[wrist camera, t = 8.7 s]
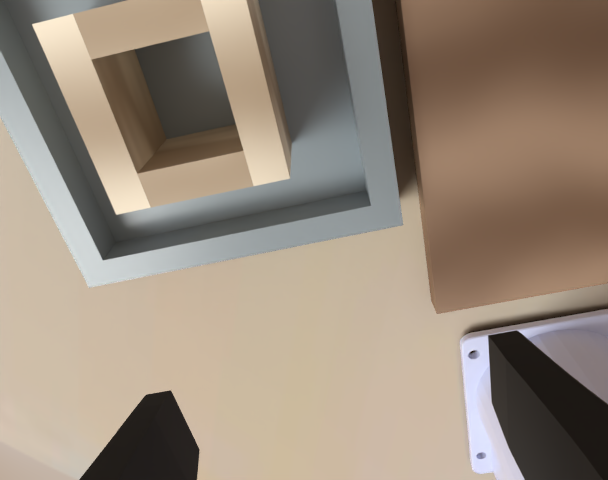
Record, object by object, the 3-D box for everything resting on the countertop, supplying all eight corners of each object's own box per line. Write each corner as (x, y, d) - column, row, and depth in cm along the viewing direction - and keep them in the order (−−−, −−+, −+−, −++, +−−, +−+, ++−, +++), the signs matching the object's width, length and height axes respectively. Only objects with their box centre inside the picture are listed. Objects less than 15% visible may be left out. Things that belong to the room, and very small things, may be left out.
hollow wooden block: (291, 143, 17) (290, 178, 14) (148, 174, 18) (116, 214, 15) (252, -26, 15) (239, -29, 12) (86, 15, 15) (32, 24, 12)
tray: (393, 202, 19) (403, 225, 17) (107, 260, 20) (88, 287, 18) (336, -185, 13) (342, -210, 12) (-54, -73, 15) (-103, -81, 13)
